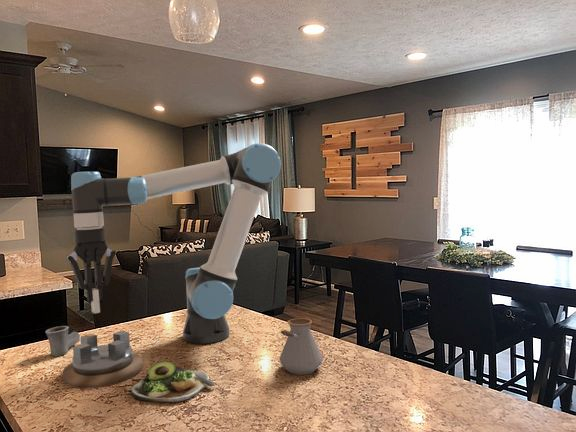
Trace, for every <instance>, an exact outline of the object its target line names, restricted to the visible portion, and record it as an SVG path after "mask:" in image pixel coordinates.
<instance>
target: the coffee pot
mask: <svg viewBox="0 0 576 432" xmlns="http://www.w3.org/2000/svg"><path fill="white" fill-rule="evenodd" d="M312 323H313V321H312V319H310V318H305V317H298V318H297V317H296V318H292V319H289V320H287V324H288V325H289V327H290V330H287V329H286V330H285V329H283V330H280V331H278V332H277V334H276V337H277V339H278V340H281V341H283V340H285V339H286V340H285V344H284V345H283V349H282V351H281V354H280V356H279V363H280V364H281V365H282V367H283V368H284V369H285V370H287V372H289V373H290V374H293V375H309V374H312V373H314V372H315V371H317V369H319V367H320V366H321V365H322V362H323V359H324V358H323V355H322V352H321V351H320V349H319V346H318V343H317V341H316V340H315V337H314V335H313V333H312V330H311V325H312ZM279 333H281V335H282V336H285V337H284V338H281V339H280V338H279V337H278V334H279Z"/></svg>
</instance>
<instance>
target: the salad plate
mask: <svg viewBox="0 0 576 432" xmlns="http://www.w3.org/2000/svg"><path fill="white" fill-rule="evenodd" d="M146 372H147V373H146V377H144V378H143V379H142V380H140V381H138V383H135V384H134V385H133V386H132V387H131V388H130V393H131V395H132V396H133V397H134V398H135V399H137V400H141V401H144V402H153V403H155V402H156V403H177V402H182V401H186V400H189V399H192V398H194V397H195V396H196V395H198V394H199V393H200V392H201V391H202V390H204V389H205V388H207V387H212V386H215V385H216V383H215V382H214V381H212V380H210V377H209V375H208V374H207V373H206V372H204V371H201V370H190V369H185V368H183V367H181V366H178V365H176V364H175V363H173V362H171V361H168V360H167V361H166V360H165V361H160V362H157V363H155V364H153V365H152V366H150V367H149V368H148V369H147V371H146ZM173 393H174V394H175V393H179V394H180V393H181V394H182V393H184V394H183V395H180V396H174V397H173V396H172V397H170V398H169V397H168V398H166V397H164V396H167V395H169V394H173ZM163 397H164V398H163Z"/></svg>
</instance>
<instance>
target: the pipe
mask: <svg viewBox="0 0 576 432" xmlns="http://www.w3.org/2000/svg"><path fill="white" fill-rule="evenodd" d="M69 328H70V327H69V326H67V325H61V326H55V327H50V328H48V329H46V330H45V332H44V333H45V334H46V336H47V340H48V343H49V348H50V349H49V350H50V354H51V356H53V357H60V356H63V355H65V354H67V353H68V352H69V349H70V348H73V347H74V346H76V344H77V343H78V342H79V341H80V340H81V336H80V333H79V332H78V331H72V332H71V333H69Z"/></svg>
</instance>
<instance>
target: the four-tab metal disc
mask: <svg viewBox="0 0 576 432" xmlns="http://www.w3.org/2000/svg"><path fill="white" fill-rule="evenodd" d="M112 336H113V337H112V338H113V341H112V342H108V343H107V344H104V345H103V344H102V345H101V344H100V345H98V334H94V333H88V334H87V333H86V334H84V335H82V336H80V344H78V345H73V346H72V351H73V356H72V362H73V371H74V372H75V373H77V374H81V375H101V374H107V373H111V372H115V371H118V370H121V369H123V368H125V367H127V366H129V365H130V364H131V363H132V361H133V353H134V352H133V347H131V346H130V345H131V343H130V332H129V331H125V330H120V331H118V332H117V331H116V332H113V334H112Z"/></svg>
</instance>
